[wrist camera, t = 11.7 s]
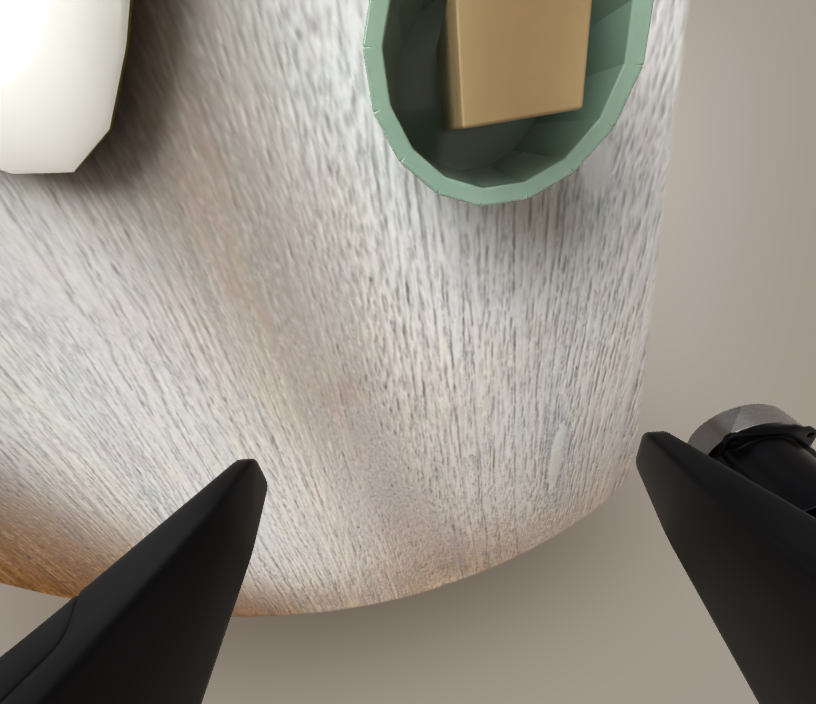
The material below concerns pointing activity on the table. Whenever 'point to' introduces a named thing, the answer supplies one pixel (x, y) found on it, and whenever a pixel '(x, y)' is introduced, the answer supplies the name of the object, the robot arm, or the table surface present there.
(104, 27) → the plate
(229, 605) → the robot arm
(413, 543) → the table surface
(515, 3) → the stick
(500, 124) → the cup
